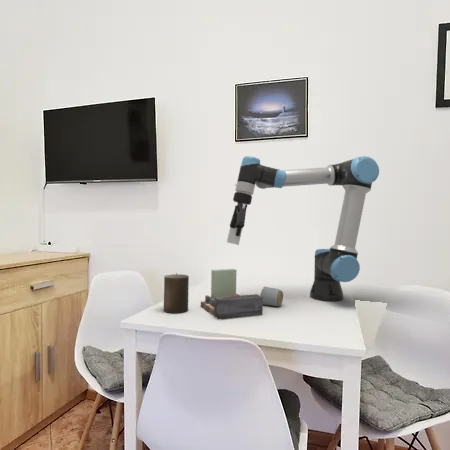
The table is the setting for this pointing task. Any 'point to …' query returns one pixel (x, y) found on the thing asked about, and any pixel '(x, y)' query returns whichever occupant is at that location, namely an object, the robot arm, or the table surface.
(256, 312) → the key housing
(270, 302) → the grey cylinder
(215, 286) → the sage green upright block
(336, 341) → the table surface
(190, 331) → the table surface
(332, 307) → the table surface
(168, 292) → the pillar candle
